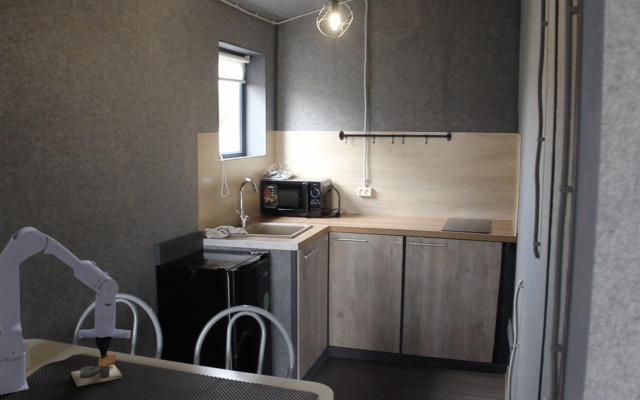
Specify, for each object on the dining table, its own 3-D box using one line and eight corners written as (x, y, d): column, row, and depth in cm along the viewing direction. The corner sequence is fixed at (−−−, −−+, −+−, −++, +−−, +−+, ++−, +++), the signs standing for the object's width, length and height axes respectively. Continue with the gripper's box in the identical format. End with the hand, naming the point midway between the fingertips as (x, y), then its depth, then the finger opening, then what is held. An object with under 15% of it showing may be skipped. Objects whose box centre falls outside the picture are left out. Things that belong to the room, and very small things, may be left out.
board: (77, 386, 149) (77, 382, 149) (71, 375, 156) (71, 371, 156) (121, 378, 155) (121, 374, 155) (114, 367, 163) (114, 364, 163)
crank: (87, 378, 151) (87, 366, 151) (77, 375, 153) (77, 364, 153) (118, 365, 161) (118, 354, 161) (108, 363, 163) (108, 352, 163)
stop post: (101, 378, 152) (101, 369, 152) (99, 375, 154) (99, 367, 154) (110, 377, 153) (110, 368, 153) (108, 374, 155) (108, 365, 155)
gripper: (75, 320, 155) (74, 365, 156) (127, 320, 157) (125, 366, 158) (83, 313, 162) (82, 357, 163) (132, 314, 164) (131, 357, 165)
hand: (104, 360), depth 161 cm, fingers closed, pressing on crank
